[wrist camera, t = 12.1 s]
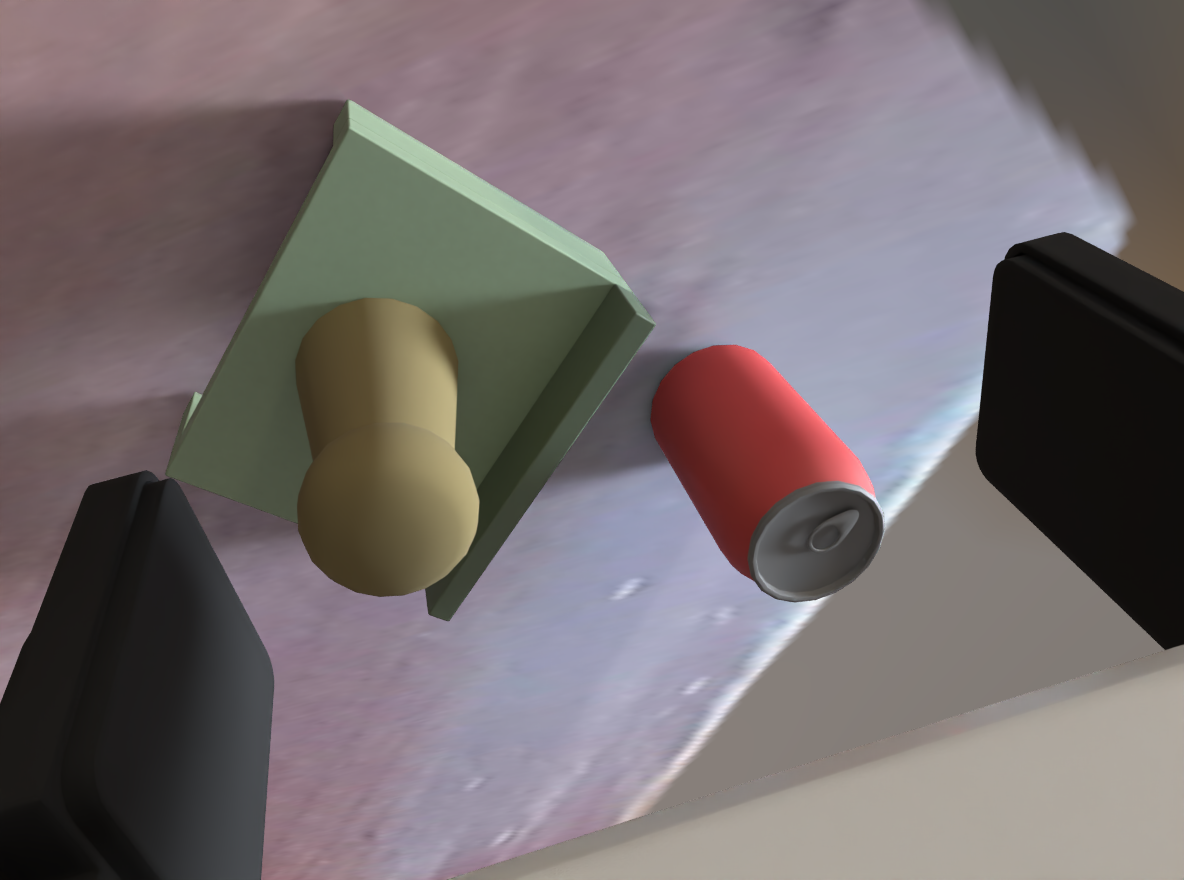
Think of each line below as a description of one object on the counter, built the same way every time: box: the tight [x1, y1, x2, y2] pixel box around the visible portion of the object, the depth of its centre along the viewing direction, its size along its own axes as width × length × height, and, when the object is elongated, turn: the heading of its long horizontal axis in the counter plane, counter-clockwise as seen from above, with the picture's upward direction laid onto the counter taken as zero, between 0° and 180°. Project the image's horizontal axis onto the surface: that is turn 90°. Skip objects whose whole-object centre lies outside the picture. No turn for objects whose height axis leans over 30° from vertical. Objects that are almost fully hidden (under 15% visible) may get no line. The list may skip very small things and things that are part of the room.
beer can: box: [651, 345, 885, 602], centre depth 40 cm, size 7×7×12 cm
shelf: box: [165, 100, 656, 621], centre depth 36 cm, size 12×15×8 cm
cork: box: [295, 298, 479, 597], centre depth 30 cm, size 6×6×11 cm
